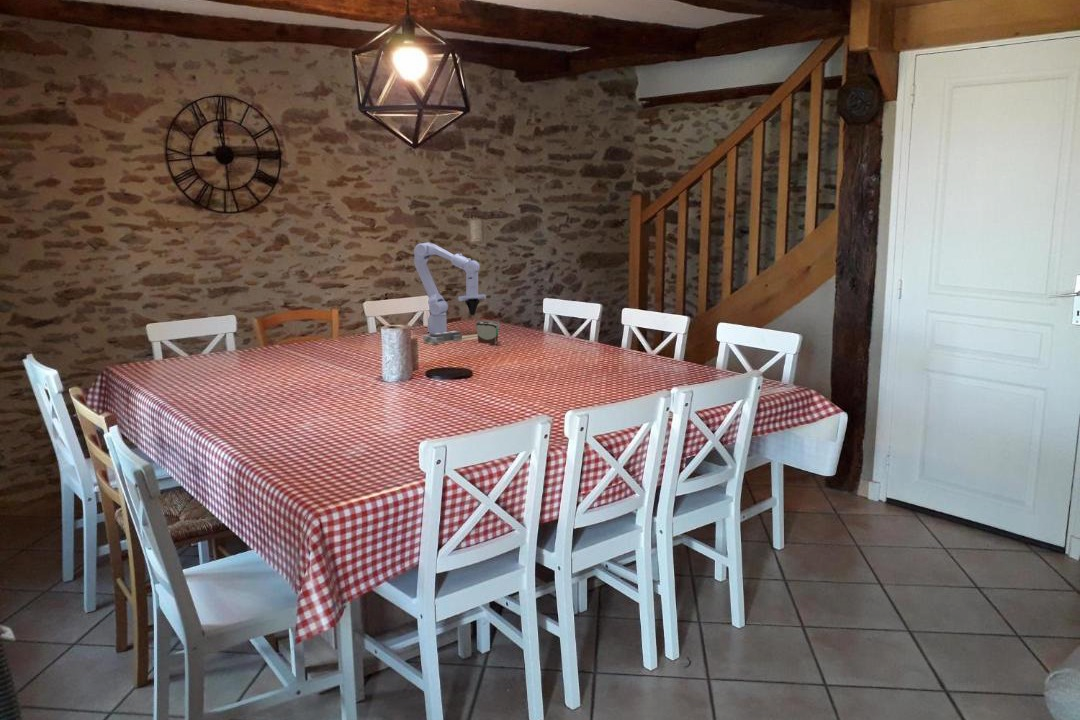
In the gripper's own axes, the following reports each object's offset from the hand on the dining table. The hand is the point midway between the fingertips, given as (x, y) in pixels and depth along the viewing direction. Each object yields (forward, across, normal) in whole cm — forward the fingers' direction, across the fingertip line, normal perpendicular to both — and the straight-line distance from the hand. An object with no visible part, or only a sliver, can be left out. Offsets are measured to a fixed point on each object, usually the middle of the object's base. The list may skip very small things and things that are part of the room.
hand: (472, 314), depth 398 cm
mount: (+10, -12, -6) cm, 17 cm away
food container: (+10, -5, -22) cm, 25 cm away
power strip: (+9, -19, -6) cm, 22 cm away
